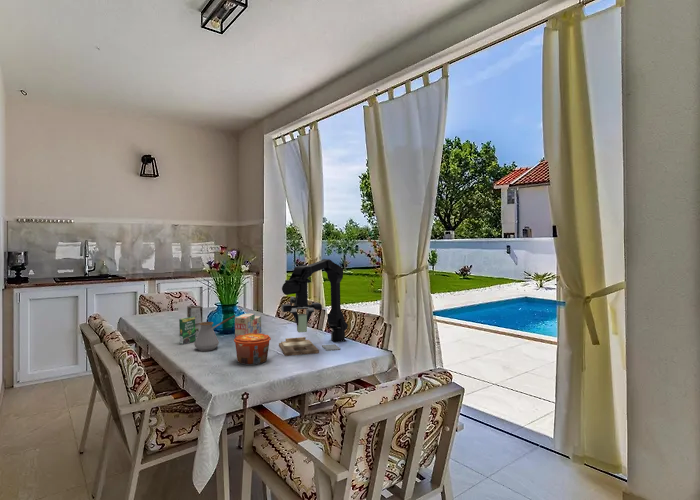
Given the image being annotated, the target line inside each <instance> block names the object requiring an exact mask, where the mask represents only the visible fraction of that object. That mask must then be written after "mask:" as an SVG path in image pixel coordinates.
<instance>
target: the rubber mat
mask: <svg viewBox="0 0 700 500" xmlns="http://www.w3.org/2000/svg"><path fill="white" fill-rule="evenodd" d="M321 347H322V348H323V350H325V351H326V352H331V350H332V351H341V348H340V346H338V345H337V344H335V343H334V344H333V343H331V344H322V345H321Z"/></svg>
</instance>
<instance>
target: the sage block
mask: <svg viewBox="0 0 700 500" xmlns="http://www.w3.org/2000/svg"><path fill="white" fill-rule="evenodd" d="M296 331H297V333H300V334H301V333H307V331H308V324H307V315H306V313H298V326H297V325H296Z"/></svg>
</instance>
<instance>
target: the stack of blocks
mask: <svg viewBox="0 0 700 500" xmlns="http://www.w3.org/2000/svg"><path fill="white" fill-rule="evenodd" d="M235 318H236V319H235ZM235 318H234V339H235V338H236V337H237V336H239V335H245V334H251V333H254V334H257V333H260V334H261V332H262V316H261V315H256V314H255V313H243V314H241V315H239V316H236V317H235Z"/></svg>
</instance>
